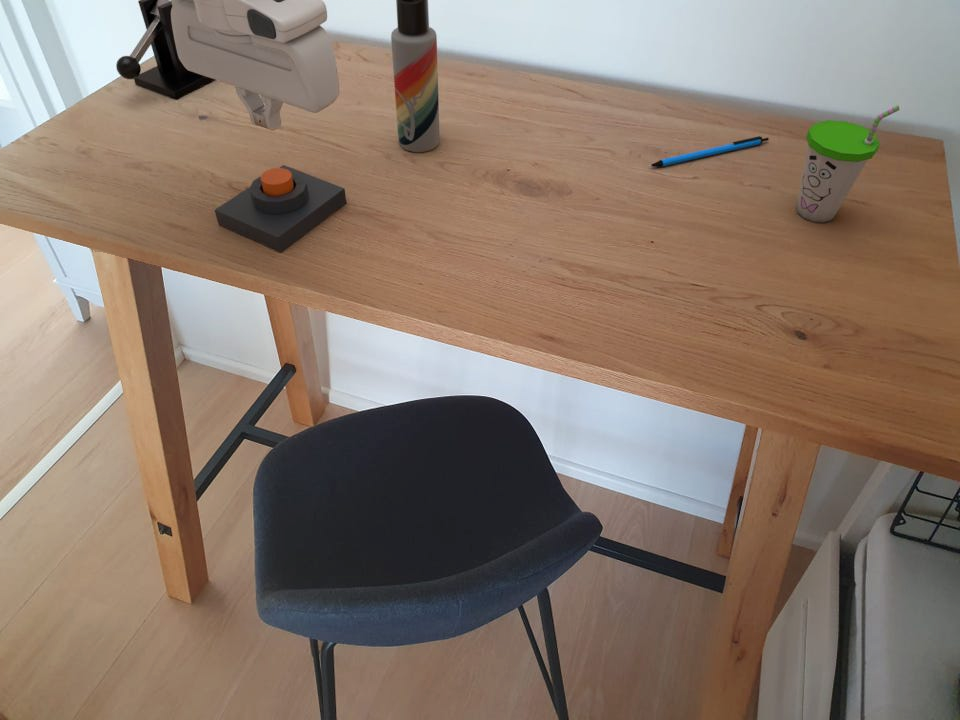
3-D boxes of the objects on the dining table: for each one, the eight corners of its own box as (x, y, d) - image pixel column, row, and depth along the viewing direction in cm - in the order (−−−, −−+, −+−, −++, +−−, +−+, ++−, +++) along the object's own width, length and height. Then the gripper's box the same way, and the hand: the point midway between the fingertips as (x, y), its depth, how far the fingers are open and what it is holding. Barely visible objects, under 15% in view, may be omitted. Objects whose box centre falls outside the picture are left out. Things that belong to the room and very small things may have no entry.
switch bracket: (176, 99, 114) (153, 19, 106) (135, 84, 117) (109, 5, 109) (230, 72, 121) (212, -6, 112) (189, 58, 124) (169, -19, 116)
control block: (280, 252, 88) (274, 224, 85) (218, 225, 92) (210, 196, 89) (346, 203, 95) (343, 175, 93) (286, 179, 99) (281, 151, 96)
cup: (769, 207, 96) (806, 93, 85) (809, 188, 99) (850, 76, 88) (821, 238, 91) (867, 122, 81) (861, 217, 94) (911, 102, 84)
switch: (137, 86, 111) (122, 72, 108) (122, 81, 112) (107, 66, 109) (184, 15, 113) (171, -1, 110) (169, 10, 114) (155, -6, 111)
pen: (768, 143, 107) (771, 136, 106) (651, 170, 102) (652, 162, 101) (764, 140, 107) (767, 133, 107) (647, 167, 102) (649, 159, 101)
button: (279, 200, 89) (276, 187, 88) (256, 191, 91) (253, 178, 90) (300, 186, 92) (298, 173, 90) (277, 177, 93) (275, 164, 92)
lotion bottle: (393, 150, 105) (381, -2, 90) (405, 129, 108) (396, -19, 94) (433, 155, 104) (427, 3, 89) (444, 135, 108) (440, -15, 93)
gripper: (142, -15, 77) (180, 112, 87) (295, 29, 70) (317, 163, 80) (189, -33, 81) (220, 91, 91) (339, 7, 74) (355, 137, 84)
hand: (267, 125), depth 85 cm, fingers closed
